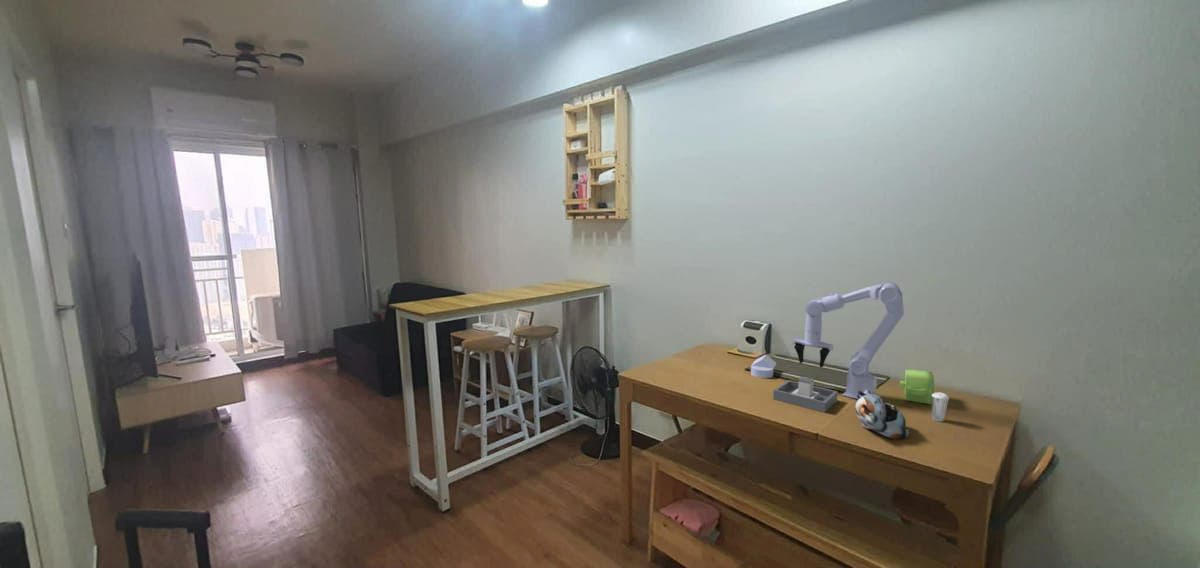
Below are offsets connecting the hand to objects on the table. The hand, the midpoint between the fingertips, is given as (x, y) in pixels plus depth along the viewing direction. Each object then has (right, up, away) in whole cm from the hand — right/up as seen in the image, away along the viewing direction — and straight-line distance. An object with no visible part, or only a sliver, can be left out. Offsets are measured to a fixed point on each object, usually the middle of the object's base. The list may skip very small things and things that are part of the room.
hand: (811, 364), depth 179 cm
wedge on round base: (-13, -7, +18) cm, 23 cm away
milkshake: (+29, -14, -28) cm, 42 cm away
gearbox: (+35, -11, -9) cm, 37 cm away
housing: (-7, -11, -11) cm, 17 cm away
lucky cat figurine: (+5, -15, -36) cm, 39 cm away
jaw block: (-7, -10, -11) cm, 17 cm away
